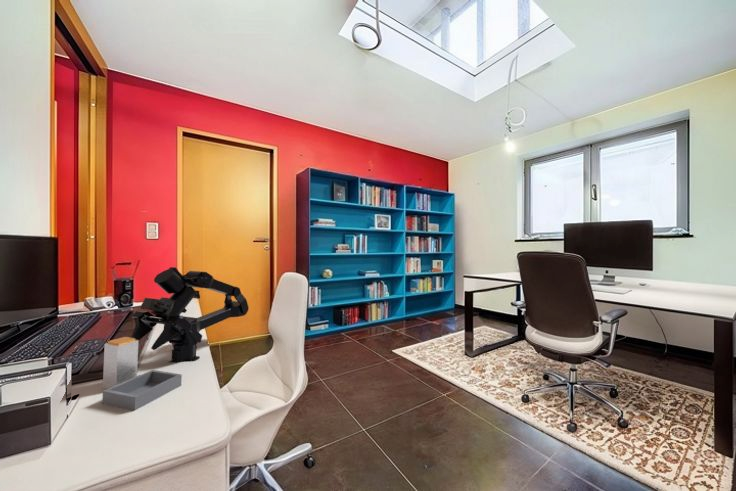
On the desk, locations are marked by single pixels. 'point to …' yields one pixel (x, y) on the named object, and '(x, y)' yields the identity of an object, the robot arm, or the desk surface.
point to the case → (141, 389)
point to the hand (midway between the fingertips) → (140, 347)
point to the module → (120, 361)
